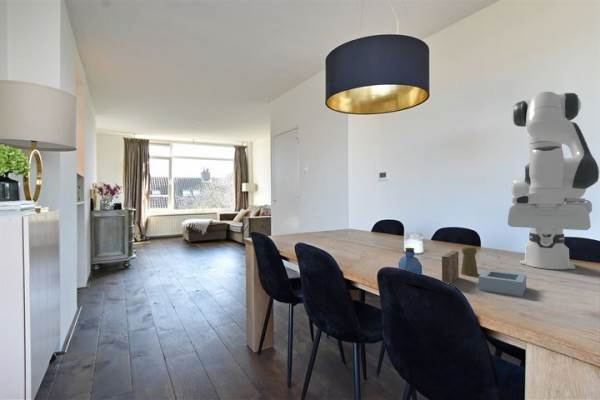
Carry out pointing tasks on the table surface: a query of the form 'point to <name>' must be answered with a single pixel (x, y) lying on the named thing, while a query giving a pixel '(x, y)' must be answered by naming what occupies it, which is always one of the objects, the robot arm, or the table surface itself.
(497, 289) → the socket block
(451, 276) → the wall
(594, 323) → the table surface
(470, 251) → the cork
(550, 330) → the table surface
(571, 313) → the table surface
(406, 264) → the perfume bottle
